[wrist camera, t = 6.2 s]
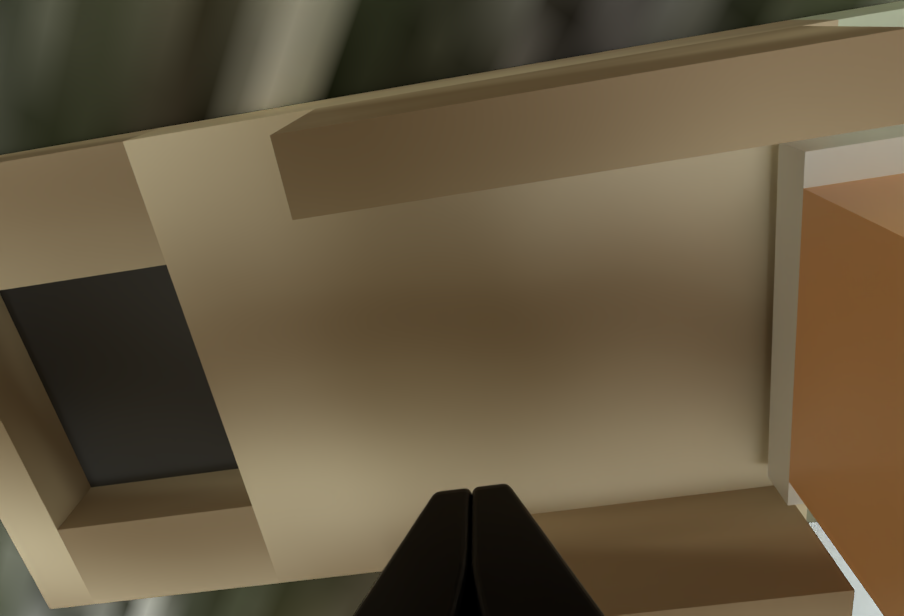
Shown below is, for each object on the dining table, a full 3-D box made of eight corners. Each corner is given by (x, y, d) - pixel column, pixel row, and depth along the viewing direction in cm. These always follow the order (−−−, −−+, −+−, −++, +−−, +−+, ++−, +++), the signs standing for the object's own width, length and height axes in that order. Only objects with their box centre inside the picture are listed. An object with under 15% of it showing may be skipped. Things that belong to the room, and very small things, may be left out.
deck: (1199, 422, 13) (1478, 573, 10) (87, 556, 15) (-32, 725, 12) (1369, -80, 10) (1908, -140, 6) (-104, 172, 12) (-363, 241, 8)
